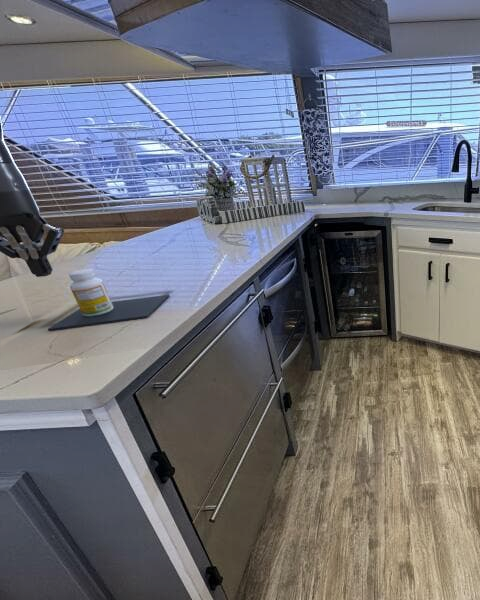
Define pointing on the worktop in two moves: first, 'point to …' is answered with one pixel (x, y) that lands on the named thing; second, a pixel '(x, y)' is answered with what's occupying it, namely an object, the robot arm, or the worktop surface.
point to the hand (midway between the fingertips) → (44, 275)
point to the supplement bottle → (90, 293)
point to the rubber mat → (114, 313)
